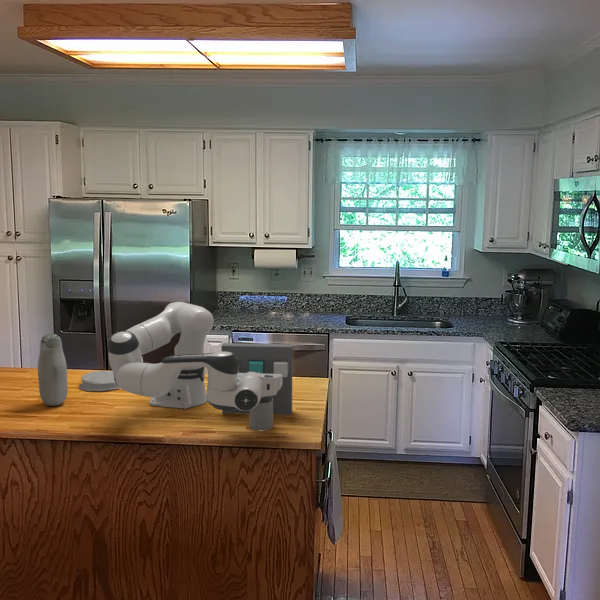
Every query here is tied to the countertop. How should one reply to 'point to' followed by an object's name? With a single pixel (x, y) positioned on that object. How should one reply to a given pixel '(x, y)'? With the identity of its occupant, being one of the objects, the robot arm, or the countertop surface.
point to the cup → (262, 414)
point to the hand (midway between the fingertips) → (255, 374)
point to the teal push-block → (256, 366)
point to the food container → (98, 381)
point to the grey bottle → (52, 371)
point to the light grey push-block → (281, 368)
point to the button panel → (266, 369)
